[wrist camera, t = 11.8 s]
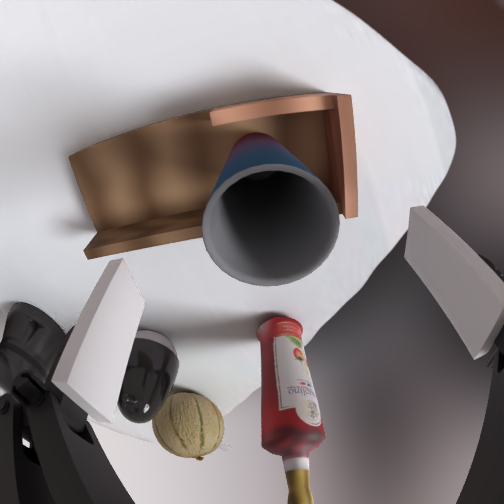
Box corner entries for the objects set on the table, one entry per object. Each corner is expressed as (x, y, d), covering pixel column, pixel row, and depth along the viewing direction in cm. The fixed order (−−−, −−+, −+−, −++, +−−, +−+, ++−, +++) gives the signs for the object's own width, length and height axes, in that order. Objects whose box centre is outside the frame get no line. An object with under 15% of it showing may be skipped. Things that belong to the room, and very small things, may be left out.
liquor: (312, 320, 42) (351, 503, 18) (283, 346, 45) (304, 513, 21) (273, 302, 39) (298, 512, 16) (245, 332, 43) (251, 517, 19)
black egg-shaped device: (178, 322, 41) (161, 411, 28) (185, 361, 47) (175, 438, 34) (117, 316, 40) (87, 397, 28) (131, 355, 46) (113, 427, 33)
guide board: (107, 232, 32) (84, 265, 26) (77, 152, 26) (43, 171, 20) (335, 189, 30) (357, 216, 25) (326, 92, 24) (351, 94, 19)
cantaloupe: (149, 378, 50) (136, 443, 38) (220, 380, 50) (218, 450, 38) (168, 408, 58) (161, 463, 46) (228, 410, 58) (228, 468, 46)
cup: (216, 128, 25) (188, 174, 12) (288, 119, 24) (340, 157, 12) (227, 193, 28) (216, 292, 16) (294, 185, 28) (336, 278, 15)
